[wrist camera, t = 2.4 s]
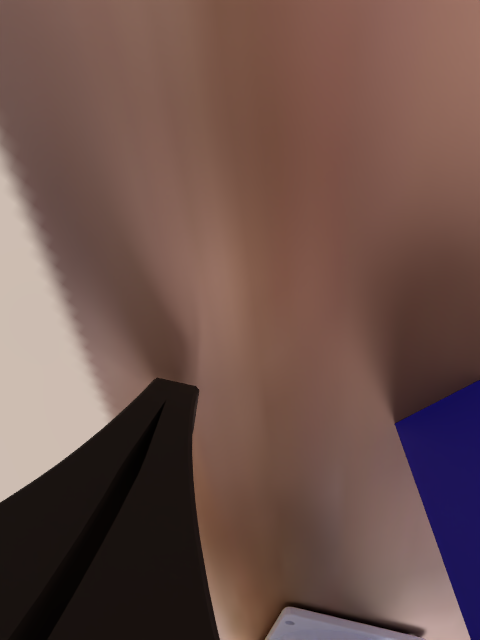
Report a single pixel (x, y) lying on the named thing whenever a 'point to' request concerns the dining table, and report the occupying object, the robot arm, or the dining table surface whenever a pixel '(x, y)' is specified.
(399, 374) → the dining table surface
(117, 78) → the dining table surface
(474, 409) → the cable clip
